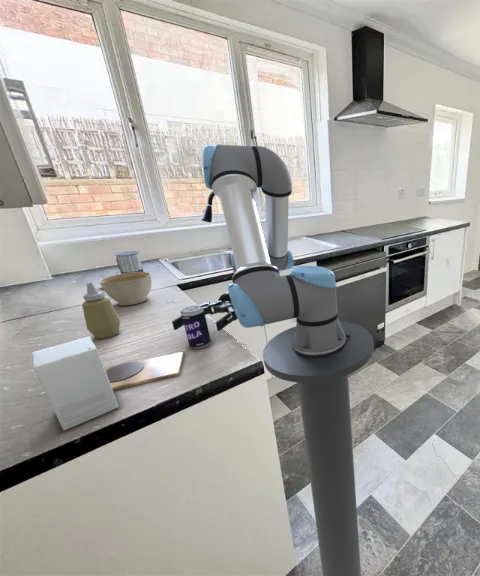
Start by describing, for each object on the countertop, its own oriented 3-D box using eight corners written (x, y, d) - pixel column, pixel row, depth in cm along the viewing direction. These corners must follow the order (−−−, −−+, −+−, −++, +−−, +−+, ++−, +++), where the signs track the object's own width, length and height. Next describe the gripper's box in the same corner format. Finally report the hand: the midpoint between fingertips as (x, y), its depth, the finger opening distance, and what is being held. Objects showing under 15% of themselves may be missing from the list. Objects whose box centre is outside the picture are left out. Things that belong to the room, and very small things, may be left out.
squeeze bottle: (92, 343, 95) (72, 288, 89) (89, 335, 100) (70, 283, 94) (125, 334, 101) (108, 282, 95) (121, 327, 106) (104, 277, 100)
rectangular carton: (111, 390, 73) (91, 334, 68) (119, 407, 67) (97, 347, 63) (58, 411, 67) (30, 351, 62) (62, 432, 61) (32, 367, 56)
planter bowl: (158, 302, 127) (151, 277, 124) (107, 312, 118) (98, 285, 114) (155, 292, 139) (149, 269, 136) (109, 300, 130) (101, 276, 126)
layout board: (184, 353, 88) (183, 350, 88) (178, 375, 79) (177, 371, 78) (95, 372, 80) (93, 369, 80) (76, 399, 71) (75, 395, 70)
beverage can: (187, 345, 93) (178, 308, 89) (207, 338, 97) (199, 303, 93) (193, 352, 89) (183, 314, 85) (214, 345, 93) (205, 308, 89)
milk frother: (151, 279, 158) (143, 251, 153) (122, 289, 143) (113, 258, 138) (127, 278, 160) (118, 250, 155) (96, 288, 145) (86, 258, 140)
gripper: (269, 309, 111) (238, 338, 91) (203, 308, 113) (159, 336, 93) (266, 290, 109) (234, 315, 89) (199, 289, 111) (152, 313, 91)
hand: (195, 326), depth 91 cm, fingers open, 13 cm apart
